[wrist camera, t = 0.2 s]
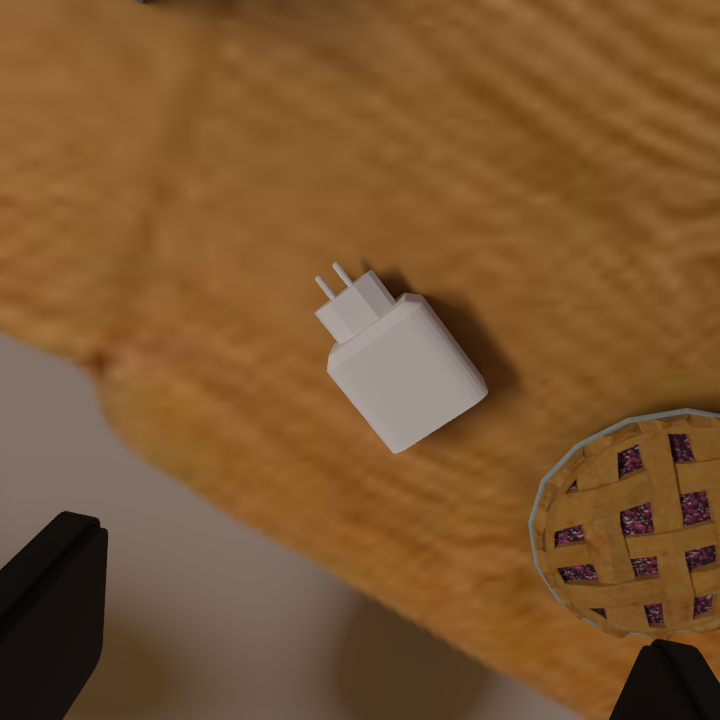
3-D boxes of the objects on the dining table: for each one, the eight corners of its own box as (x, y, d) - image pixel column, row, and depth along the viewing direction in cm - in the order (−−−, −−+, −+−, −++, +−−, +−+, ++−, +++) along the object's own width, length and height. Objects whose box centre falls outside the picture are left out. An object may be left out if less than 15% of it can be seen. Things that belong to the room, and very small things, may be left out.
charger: (375, 230, 44) (482, 375, 47) (286, 298, 46) (394, 432, 49) (371, 235, 39) (490, 395, 42) (273, 311, 42) (392, 458, 45)
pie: (802, 573, 50) (843, 614, 45) (562, 633, 54) (577, 677, 50) (752, 357, 44) (793, 379, 40) (489, 444, 49) (497, 473, 44)
